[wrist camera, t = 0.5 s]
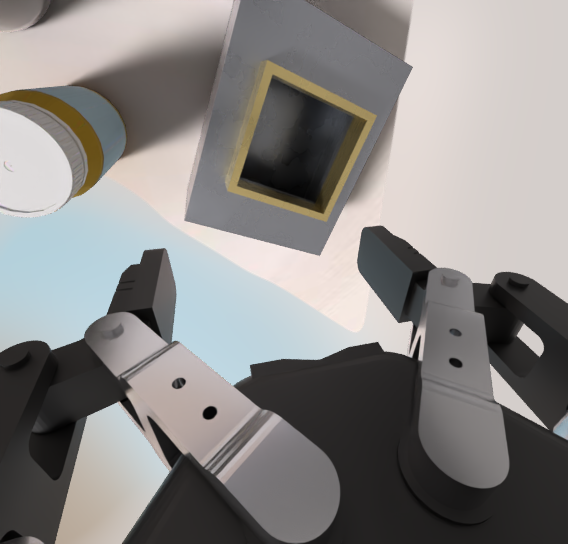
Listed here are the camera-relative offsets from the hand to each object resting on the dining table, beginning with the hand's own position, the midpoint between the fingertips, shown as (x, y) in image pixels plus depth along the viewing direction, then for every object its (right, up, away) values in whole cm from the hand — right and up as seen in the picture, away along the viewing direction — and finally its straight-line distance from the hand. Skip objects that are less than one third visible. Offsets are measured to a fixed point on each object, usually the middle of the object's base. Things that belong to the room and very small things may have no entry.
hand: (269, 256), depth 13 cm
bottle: (-18, +13, +17) cm, 28 cm away
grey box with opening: (-1, +15, +21) cm, 25 cm away
